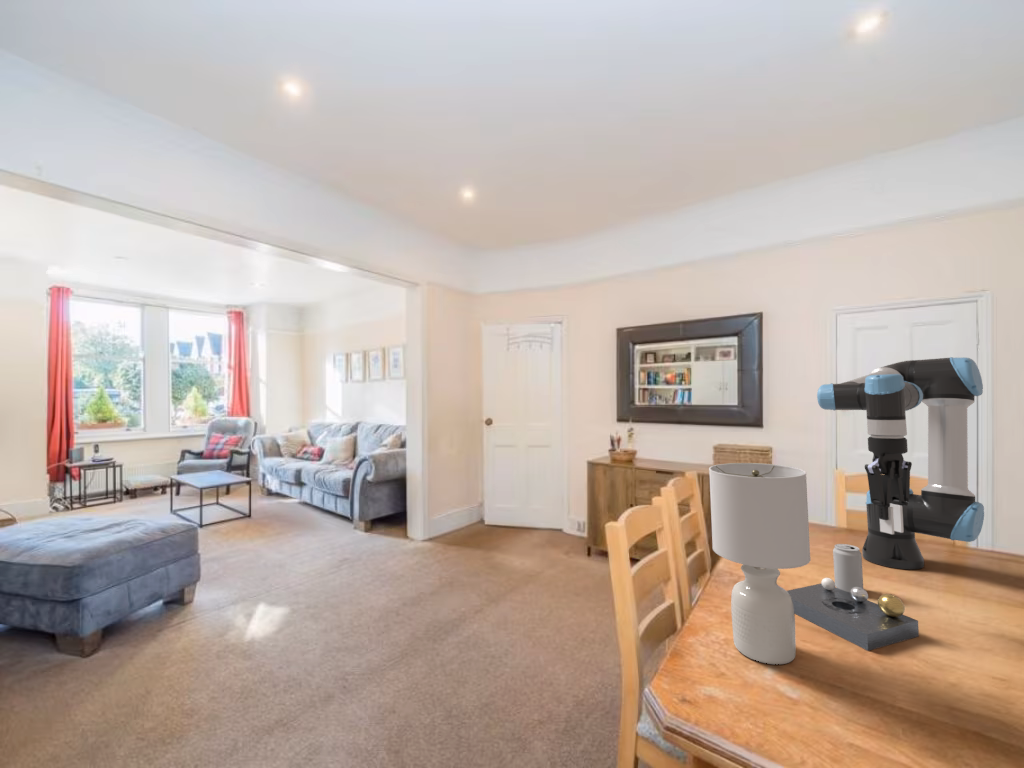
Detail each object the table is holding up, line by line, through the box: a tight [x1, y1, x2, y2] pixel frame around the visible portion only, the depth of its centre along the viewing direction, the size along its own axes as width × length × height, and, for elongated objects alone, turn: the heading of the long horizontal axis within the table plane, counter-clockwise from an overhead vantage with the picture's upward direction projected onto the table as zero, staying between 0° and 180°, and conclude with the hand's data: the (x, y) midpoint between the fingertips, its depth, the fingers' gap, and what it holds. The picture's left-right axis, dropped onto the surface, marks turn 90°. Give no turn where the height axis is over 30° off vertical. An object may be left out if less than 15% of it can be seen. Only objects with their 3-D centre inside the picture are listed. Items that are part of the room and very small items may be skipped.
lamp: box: [708, 462, 811, 666], centre depth 99 cm, size 19×19×39 cm
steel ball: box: [850, 587, 869, 602], centre depth 111 cm, size 4×4×4 cm
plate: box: [786, 583, 920, 652], centre depth 110 cm, size 16×22×4 cm
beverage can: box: [832, 543, 864, 593], centre depth 125 cm, size 6×6×12 cm
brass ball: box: [877, 593, 906, 617], centre depth 104 cm, size 5×5×5 cm
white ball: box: [820, 577, 836, 590], centre depth 118 cm, size 3×3×3 cm
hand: (891, 531), depth 111 cm, fingers open, 3 cm apart
